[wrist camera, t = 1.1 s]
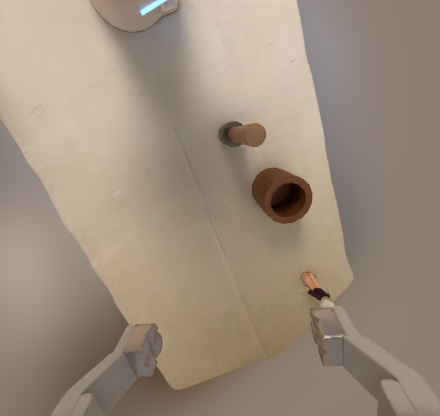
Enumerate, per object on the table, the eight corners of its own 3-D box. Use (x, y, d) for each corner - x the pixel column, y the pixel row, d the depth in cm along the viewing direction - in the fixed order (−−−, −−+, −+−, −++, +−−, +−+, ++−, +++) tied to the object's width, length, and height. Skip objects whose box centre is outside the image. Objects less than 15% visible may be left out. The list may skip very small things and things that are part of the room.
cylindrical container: (260, 162, 53) (274, 170, 43) (297, 174, 55) (320, 183, 45) (246, 201, 56) (257, 216, 46) (282, 211, 58) (300, 228, 47)
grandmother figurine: (320, 272, 65) (348, 303, 53) (317, 283, 66) (343, 316, 54) (296, 270, 64) (318, 301, 52) (292, 281, 65) (314, 314, 53)
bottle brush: (222, 120, 49) (243, 109, 27) (242, 126, 50) (279, 121, 28) (216, 141, 51) (231, 148, 28) (236, 147, 52) (265, 159, 29)
